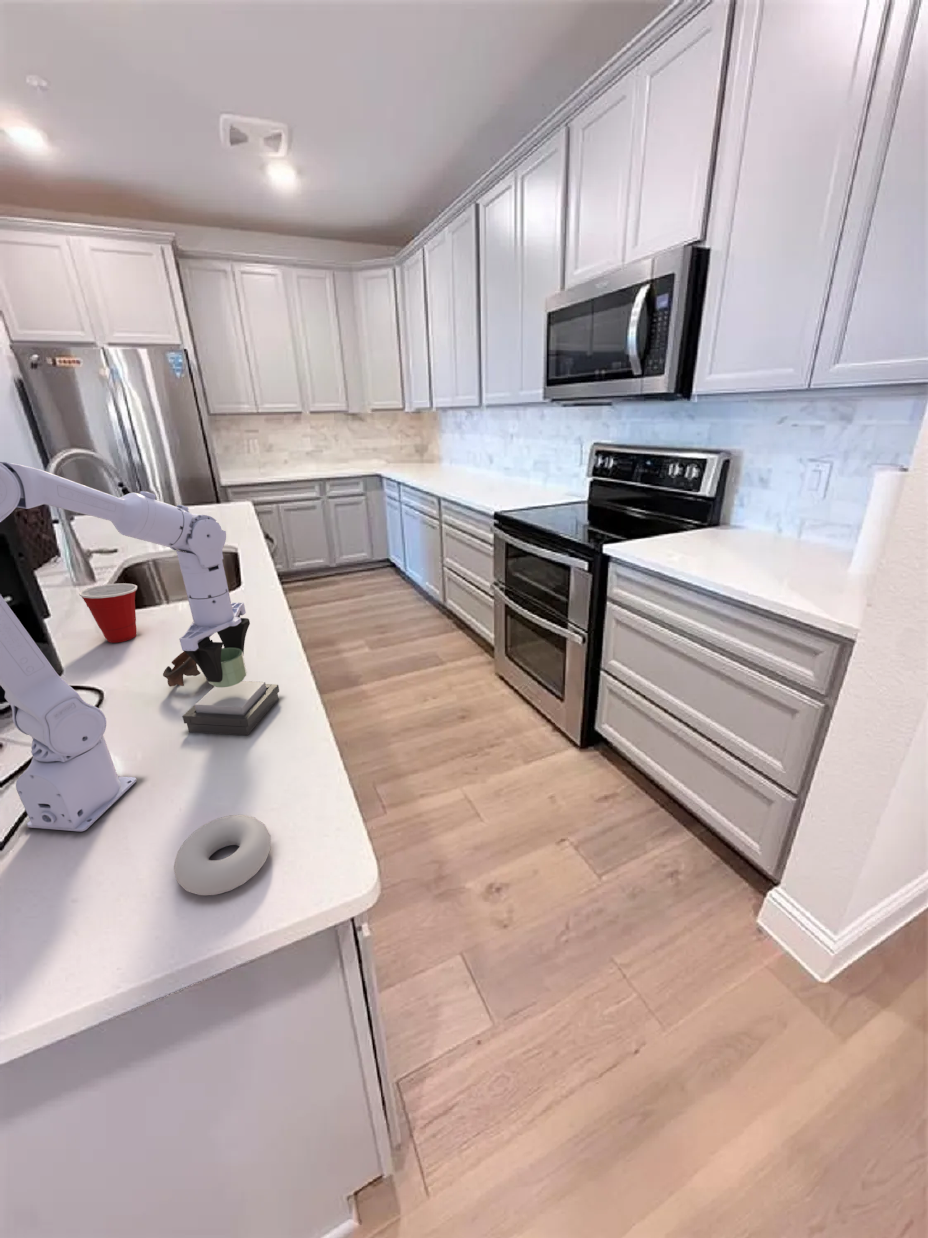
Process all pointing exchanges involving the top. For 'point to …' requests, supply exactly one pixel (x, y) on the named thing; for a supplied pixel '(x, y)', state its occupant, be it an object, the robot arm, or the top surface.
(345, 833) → the top surface
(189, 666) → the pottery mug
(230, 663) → the bowl
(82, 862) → the top surface
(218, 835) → the donut
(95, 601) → the plastic cup
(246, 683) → the scale pan
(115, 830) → the top surface
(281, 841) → the top surface
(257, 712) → the scale
